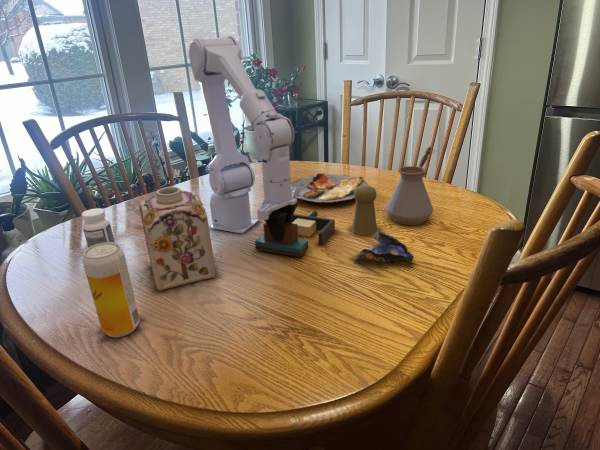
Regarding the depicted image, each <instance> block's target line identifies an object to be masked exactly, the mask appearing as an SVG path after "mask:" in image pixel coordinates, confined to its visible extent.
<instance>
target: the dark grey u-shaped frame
mask: <svg viewBox="0 0 600 450" xmlns="http://www.w3.org/2000/svg"><path fill="white" fill-rule="evenodd" d="M297 218H299V219H306V220H313V221H316V231H318V230H319V232H318V246H323V245H324V244H325V243H326V241H327V240H329V238H330V237H331V236H332V235H333V233H335V231H336V219H334V218H326V217H319V212H318V211H317V210H312V211H311V212H309V213H308V214H307V215H306V214H298V213H294V214H293V217H292V221H291V223H293V222H294V221H295V220H296V219H297Z"/></svg>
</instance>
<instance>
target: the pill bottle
mask: <svg viewBox="0 0 600 450" xmlns="http://www.w3.org/2000/svg"><path fill="white" fill-rule="evenodd" d="M81 219H82V221H83V223H82V231H83V235H84V237H85V238H84V239H85V241H86V246H87V248H89V247H91V246H93V245H96V244H100V243H105V242H114V243H116V240H115V237H114V232H113V230H112V226H111V222H110V219H109V218H107V217H106V212H105V209H104V208H99V207H97V208H90V209H87V210H85V211H83V212H82V213H81Z"/></svg>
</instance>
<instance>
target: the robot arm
mask: <svg viewBox="0 0 600 450" xmlns="http://www.w3.org/2000/svg"><path fill="white" fill-rule="evenodd" d="M188 58H189V63H190V67H191V71H192V75H193V79H194V81H196V82H198V83H199V84H200V89H201V93H202V97H203V101H204V105H205V110H206V114H207V119H208V123H209V128H210V131H211V136H212V140H213V145H214V148H215V152H216V153H215V154H216V155H215V156H214V158H213V159H212V161H211V162H210V163H209V164H208V174H209V176H208V179H209V180H208V181H209V186H210V188H211V190H212V194H211V196H210V199H209V209H210V214H211V215H210V216H211V221H212V223H211V226H210V228H211V229H213V230H218V231H226V232H230V233H237V234H244V233H245V232H247V231H248V230H250V229H251V228H252V227H253V226H254V225H255V224H258V222H259V220H263V221H264V223H266V224H267V226H268V228H269V230H270V233H271V236H272V239H273V240H274V241H280V242H281V241H282V240H283V234H284V223H285V222H287V223H291V221H292V217H293V214H295V213H296V212H295V211H296V209H297V207H298V198H294V197H296V196H297V188H294V187H291V183H292V180H291V179H292V178H291V177H292V176H291V159H290V146H291V145H292V144H293V143H294V141H295V129H294V126H293V124H292V121H291V120H290V119H289V117H286V116H283V115H282V113H278V112H277V110H276V109H275V107H274V106H273V105H272V103H271V101H270V100H269V97H268V96H267V95H266V93H265V92H264V91H263V90H262V89H259V88H255V86H254V83H253V82H252V80H251V78H250V76H249V73H248V72H247V70H246V68H245V66H244V64H243V62H242V48H241V47H240V43H239V42H238V41H237V39H236V38H235V37H234V36H232V35H229V36H227V37H226V36H225V37H208V38H198V37H197V38H196V37H195V38H193V39H192V40H191V42H190V44H189V49H188ZM225 81H228V83H229V84H230V86H231V87H232V88H233V90H234V91H235V93H236V94H237V95H238V96H239V97H240V101H239V108H240V109H241V111H242V113H243V114H244V116H245V117H246V119H247V121H248V122H249V124H250V125H251V127H252V129H253V135H252V137H253V141H254V144H255V146H256V149H257V155H258V157H259V159H261V170H262V181H263V194H264V197H263V200H262V202H261V204H260V207H259V208H258V209H257V219H256V218H252V214H251V213H252V212H251V204H250V194H249V193H250V192H252V187H253V186H254V185H255V181H256V175H255V172H254V169H253V167H252V166H251V163H250V159H249V157H248V156H247V155H245V154H243V153H241V152H239V151H238V145H237V141H236V136H235V131H234V127H233V122H232V118H231V114H230V109H229V104H228V100H227V96H226V91H225V86H224V83H225Z"/></svg>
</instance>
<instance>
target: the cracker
mask: <svg viewBox="0 0 600 450" xmlns="http://www.w3.org/2000/svg"><path fill="white" fill-rule="evenodd" d="M293 223H294V224H297V228H298V236H302V237H311V236H313V234H314V233H315V232H316V231H317V229H316V221H313V220H306V219H299V218H297V219H296V220H295V221H294V222H293Z"/></svg>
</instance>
